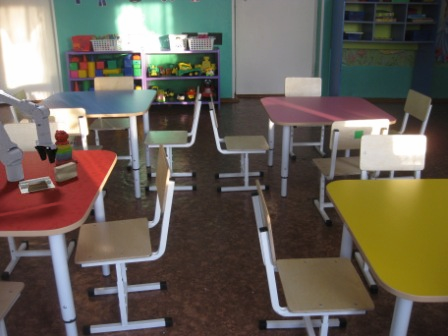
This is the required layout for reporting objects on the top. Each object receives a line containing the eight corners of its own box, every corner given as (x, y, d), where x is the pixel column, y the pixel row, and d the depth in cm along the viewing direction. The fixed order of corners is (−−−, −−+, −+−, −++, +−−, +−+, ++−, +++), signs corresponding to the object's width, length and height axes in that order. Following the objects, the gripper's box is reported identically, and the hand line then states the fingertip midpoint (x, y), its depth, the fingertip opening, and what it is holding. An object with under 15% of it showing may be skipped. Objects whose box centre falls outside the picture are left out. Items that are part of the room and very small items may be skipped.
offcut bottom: (28, 189, 205) (27, 186, 204) (47, 186, 208) (46, 183, 208) (28, 191, 202) (28, 188, 202) (48, 188, 206) (47, 185, 205)
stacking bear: (79, 162, 247) (74, 129, 241) (61, 167, 240) (56, 133, 234) (68, 158, 254) (64, 127, 248) (51, 163, 247) (46, 130, 241)
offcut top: (28, 186, 204) (28, 183, 204) (45, 183, 208) (44, 180, 207) (29, 188, 202) (29, 185, 201) (46, 185, 205) (45, 182, 205)
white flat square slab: (18, 186, 212) (17, 181, 212) (50, 181, 219) (49, 175, 218) (22, 196, 201) (21, 190, 200) (55, 189, 207) (54, 184, 206)
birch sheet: (56, 182, 215) (53, 167, 213) (73, 176, 223) (71, 162, 221) (60, 183, 214) (58, 168, 211) (77, 176, 222) (75, 163, 219)
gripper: (27, 132, 211) (32, 160, 215) (43, 136, 201) (48, 166, 206) (42, 129, 216) (46, 157, 220) (58, 133, 206) (62, 162, 211)
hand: (48, 161), depth 213 cm, fingers open, 7 cm apart
